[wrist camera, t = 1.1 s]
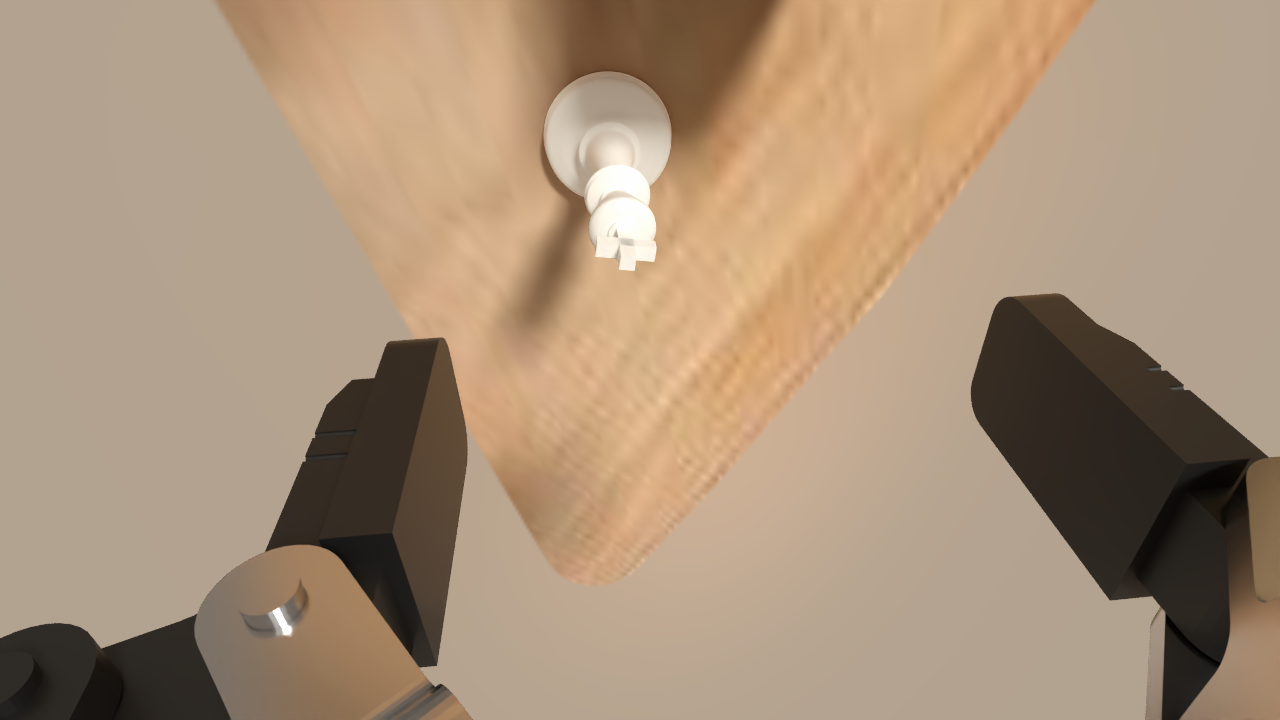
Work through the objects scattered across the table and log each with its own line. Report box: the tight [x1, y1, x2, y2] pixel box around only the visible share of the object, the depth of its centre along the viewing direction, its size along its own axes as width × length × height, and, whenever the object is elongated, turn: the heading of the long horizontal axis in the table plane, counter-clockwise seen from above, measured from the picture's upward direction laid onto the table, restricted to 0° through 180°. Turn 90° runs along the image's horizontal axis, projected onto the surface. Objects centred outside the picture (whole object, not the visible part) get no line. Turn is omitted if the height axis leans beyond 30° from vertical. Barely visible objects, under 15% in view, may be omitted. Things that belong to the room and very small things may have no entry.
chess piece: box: [543, 71, 672, 271], centre depth 24 cm, size 5×5×10 cm
